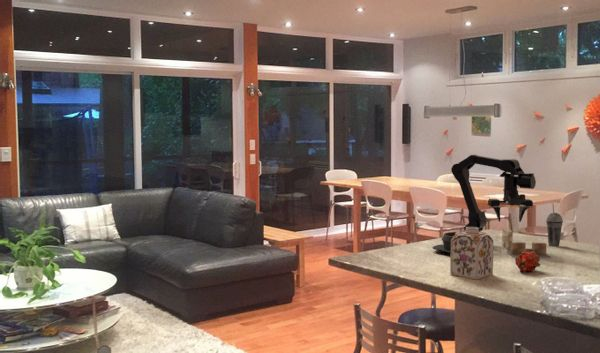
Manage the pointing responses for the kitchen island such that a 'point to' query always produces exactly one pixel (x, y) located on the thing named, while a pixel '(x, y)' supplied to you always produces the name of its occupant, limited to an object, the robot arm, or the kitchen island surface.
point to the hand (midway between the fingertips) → (509, 221)
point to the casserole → (445, 242)
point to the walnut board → (521, 247)
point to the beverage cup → (554, 228)
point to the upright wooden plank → (507, 238)
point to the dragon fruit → (527, 261)
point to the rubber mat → (538, 255)
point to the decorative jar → (471, 254)
